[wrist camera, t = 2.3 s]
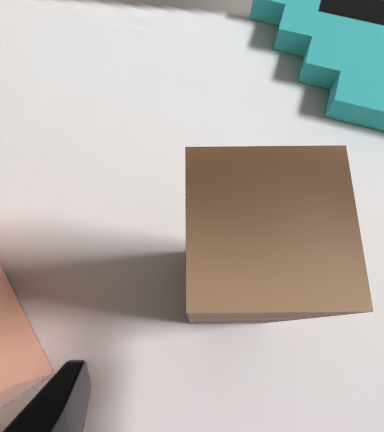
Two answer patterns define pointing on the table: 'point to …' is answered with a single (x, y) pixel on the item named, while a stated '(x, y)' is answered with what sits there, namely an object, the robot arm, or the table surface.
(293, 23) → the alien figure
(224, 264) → the walnut stick
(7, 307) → the box
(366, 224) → the table surface
